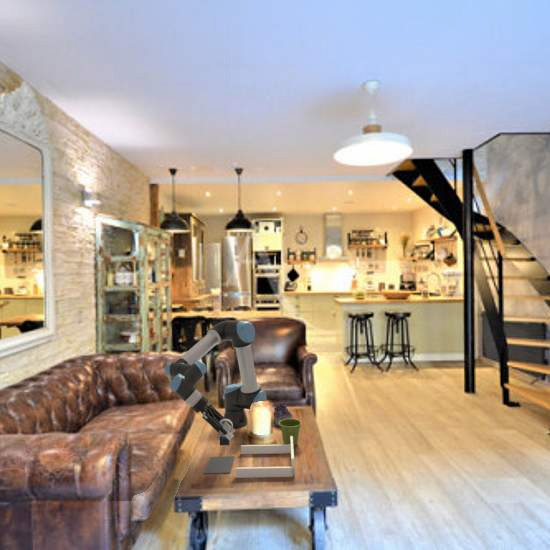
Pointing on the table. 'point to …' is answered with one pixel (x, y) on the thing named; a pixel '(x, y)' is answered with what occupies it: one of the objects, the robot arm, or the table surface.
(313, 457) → the table surface
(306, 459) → the table surface
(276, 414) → the geode
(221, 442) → the watch
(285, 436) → the plant pot
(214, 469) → the mat
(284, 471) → the shelf lane
